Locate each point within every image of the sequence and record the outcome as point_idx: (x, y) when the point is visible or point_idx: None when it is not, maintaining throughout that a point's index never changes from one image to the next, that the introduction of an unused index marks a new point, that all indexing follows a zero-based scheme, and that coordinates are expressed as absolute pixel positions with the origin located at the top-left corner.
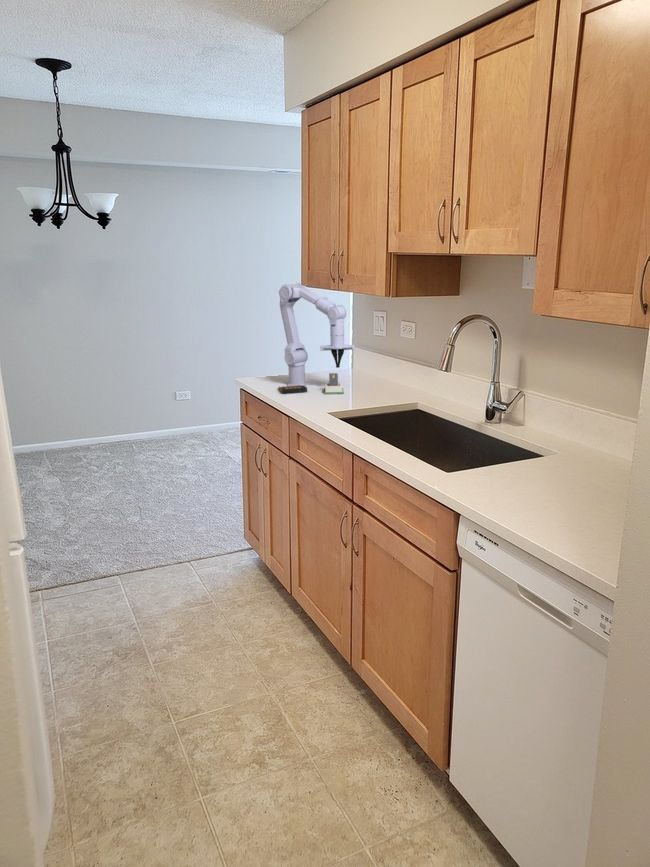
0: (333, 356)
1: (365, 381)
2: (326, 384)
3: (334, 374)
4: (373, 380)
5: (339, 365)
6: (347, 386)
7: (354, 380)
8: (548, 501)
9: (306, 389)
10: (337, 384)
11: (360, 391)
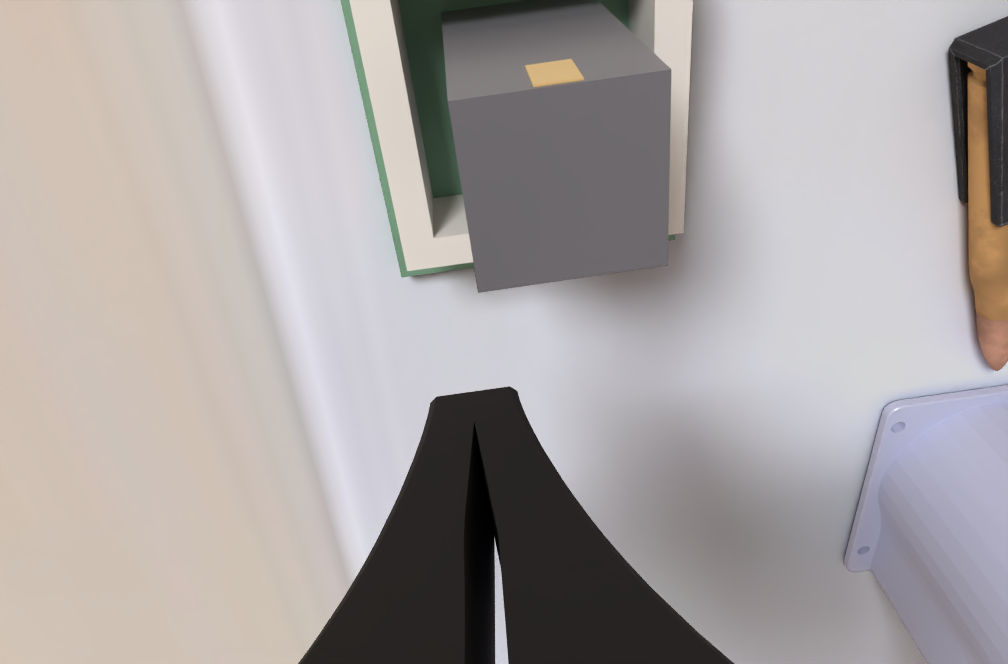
0: (674, 612)
1: (212, 620)
2: None
3: (536, 133)
4: (139, 658)
5: (428, 426)
6: (364, 410)
7: None
8: None
9: (985, 47)
10: (451, 40)
11: (67, 102)
